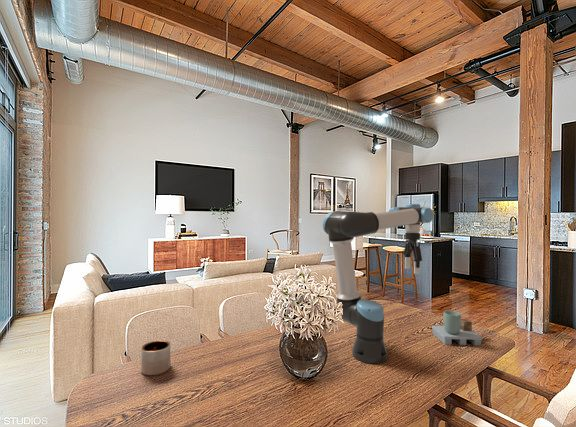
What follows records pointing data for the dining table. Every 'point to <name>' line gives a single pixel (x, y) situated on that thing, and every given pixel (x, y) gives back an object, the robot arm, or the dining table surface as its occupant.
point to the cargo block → (466, 325)
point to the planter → (155, 357)
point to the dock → (456, 336)
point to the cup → (452, 321)
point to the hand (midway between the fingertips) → (412, 271)
